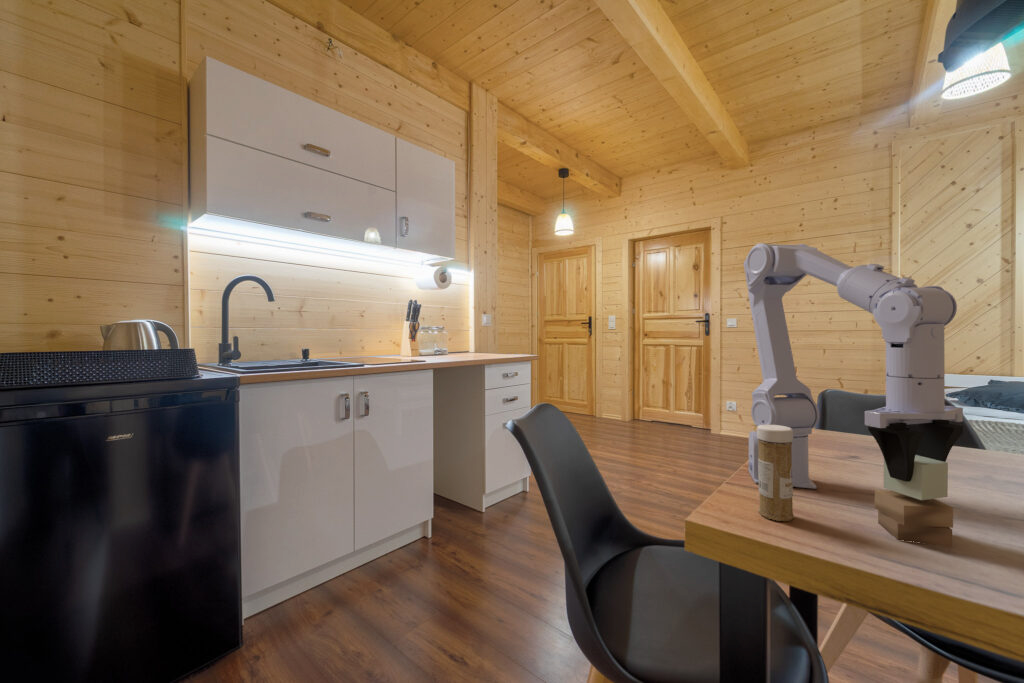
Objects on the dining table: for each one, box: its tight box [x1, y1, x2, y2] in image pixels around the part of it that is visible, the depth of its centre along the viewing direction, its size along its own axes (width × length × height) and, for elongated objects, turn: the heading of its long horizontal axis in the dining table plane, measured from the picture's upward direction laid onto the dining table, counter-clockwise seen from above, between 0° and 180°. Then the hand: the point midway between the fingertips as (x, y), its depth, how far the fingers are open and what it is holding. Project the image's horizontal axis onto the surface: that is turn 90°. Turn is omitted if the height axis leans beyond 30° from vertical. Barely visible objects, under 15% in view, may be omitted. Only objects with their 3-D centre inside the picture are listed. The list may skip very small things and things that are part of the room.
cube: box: [883, 455, 949, 500], centre depth 57 cm, size 4×4×4 cm
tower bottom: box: [877, 510, 953, 548], centre depth 57 cm, size 6×6×3 cm
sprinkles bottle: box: [756, 425, 795, 522], centre depth 63 cm, size 5×5×14 cm
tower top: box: [874, 489, 954, 529], centre depth 57 cm, size 6×6×3 cm
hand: (914, 477), depth 57 cm, fingers open, 5 cm apart
